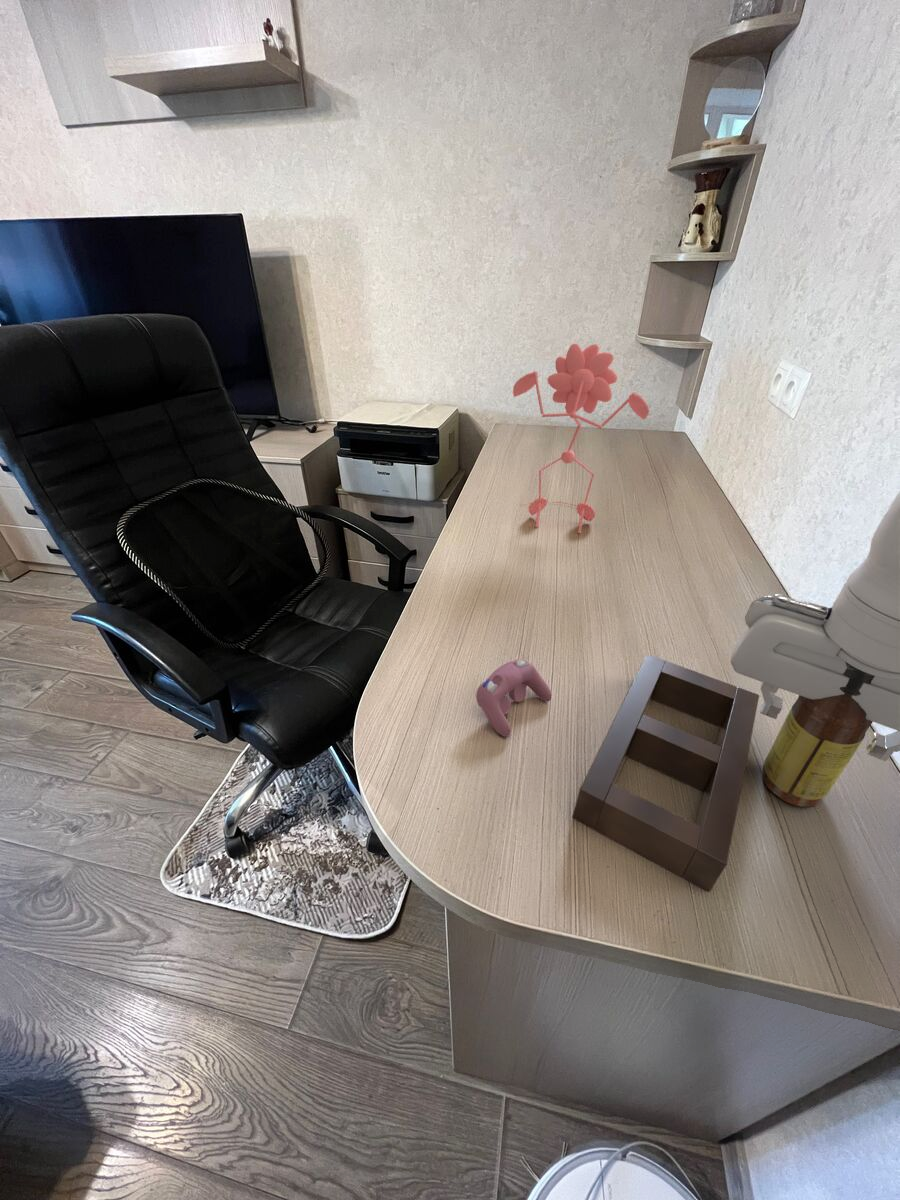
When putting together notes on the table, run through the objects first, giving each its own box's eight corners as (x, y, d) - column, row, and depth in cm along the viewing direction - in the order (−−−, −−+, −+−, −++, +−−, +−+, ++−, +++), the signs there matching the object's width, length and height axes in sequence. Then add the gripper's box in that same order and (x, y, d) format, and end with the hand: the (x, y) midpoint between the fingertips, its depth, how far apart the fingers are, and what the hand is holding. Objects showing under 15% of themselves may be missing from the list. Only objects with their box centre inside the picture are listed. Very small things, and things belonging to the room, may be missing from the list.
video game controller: (530, 694, 69) (516, 648, 67) (556, 699, 65) (542, 651, 64) (481, 733, 63) (465, 685, 62) (507, 741, 60) (491, 690, 58)
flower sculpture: (620, 541, 103) (664, 354, 83) (497, 524, 109) (511, 345, 88) (621, 511, 115) (659, 341, 95) (510, 497, 121) (524, 334, 101)
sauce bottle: (827, 784, 56) (926, 649, 45) (814, 822, 52) (918, 685, 41) (764, 751, 60) (841, 618, 48) (747, 784, 56) (826, 649, 45)
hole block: (745, 722, 63) (759, 694, 61) (709, 892, 46) (727, 864, 44) (638, 680, 69) (646, 653, 66) (571, 817, 52) (579, 789, 50)
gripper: (753, 604, 46) (705, 708, 54) (1060, 696, 37) (948, 805, 45) (761, 573, 50) (716, 674, 58) (1037, 649, 41) (939, 756, 49)
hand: (819, 732), depth 51 cm, fingers open, 8 cm apart
